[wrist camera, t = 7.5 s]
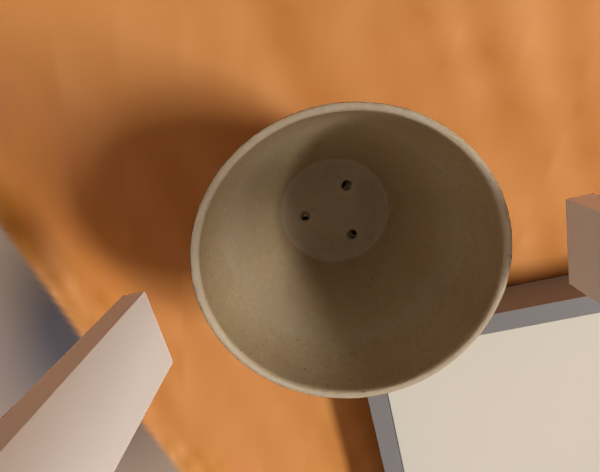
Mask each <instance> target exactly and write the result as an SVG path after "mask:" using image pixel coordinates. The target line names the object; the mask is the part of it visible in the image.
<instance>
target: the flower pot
mask: <svg viewBox="0 0 600 472" xmlns="http://www.w3.org/2000/svg"><path fill="white" fill-rule="evenodd" d="M344 181H345V182H346V185H345V186H344V187H343V188H342V184H343V182H344ZM305 216H306V217H308V218H309V219H307V220H303V219H302V218H303V217H305ZM351 230H355V231H356V234H352V233H351ZM511 259H512V229H511V223H510V218H509V212H508V209H507V206H506V203H505V199H504V196H503V193H502V191H501V189H500V187H499V185H498V183H497V181H496V179H495V177H494V175H493V174H492V172H491V171H490V169H489V168H488V166H487V165H486V164H485V162H484V161H483V160H482V159H481V157H480V156H479V155H478V154H477V153H476V152H475V151H474V150H473V149H472V148H471V146H470V145H469V144H467V143H466V142H465V141H464V140H463V139H462V138H461V137H459V136H458V135H457V134H455V133H454V132H453V131H451V130H450V129H449V128H447V127H445V126H444V125H442V124H440V123H439V122H437V121H435V120H433V119H431V118H429V117H427V116H425V115H422V114H420V113H417V112H415V111H412V110H409V109H406V108H402V107H398V106H393V105H388V104H382V103H373V102H340V103H332V104H326V105H321V106H317V107H312V108H309V109H306V110H302V111H299V112H296V113H294V114H291V115H289V116H287V117H284V118H282V119H280V120H278V121H276V122H274V123H272V124H271V125H269V126H267V127H265V128H264V129H262V130H260V131H259V132H258V133H256V134H255V135H254V136H253V137H251V138H250V139H249V140H248V141H246V142H245V143H244V144H243V145H242V146H240V147H239V148H238V149H237V150H236V151H235V152H234V153H233V154H232V155H231V156H230V157H229V158H228V160H227V161H226V162H225V163H224V164H223V165H222V167H221V168H220V169H219V171H218V172H217V174H216V175H215V177H214V178H213V179H212V181H211V183H210V185H209V186H208V188H207V190H206V192H205V194H204V196H203V198H202V200H201V203H200V205H199V208H198V211H197V214H196V218H195V222H194V226H193V231H192V236H191V245H190V266H191V275H192V280H193V286H194V290H195V293H196V297H197V300H198V303H199V305H200V308H201V310H202V312H203V314H204V316H205V318H206V320H207V322H208V323H209V325H210V327H211V328H212V330H213V331H214V333H215V335H216V336H217V337H218V339H219V340H220V341H221V342H222V344H223V345H224V346H225V347H226V348H227V349H228V350H229V351H230V352H231V353H232V354H233V355H234V356H235V357H236V358H237V359H238V360H239V361H241V362H242V363H243V364H245V365H246V366H247V367H249V368H250V369H251V370H253V371H254V372H256V373H257V374H259V375H260V376H262V377H264V378H266V379H268V380H270V381H272V382H274V383H276V384H278V385H280V386H283V387H286V388H288V389H291V390H294V391H298V392H301V393H305V394H309V395H314V396H320V397H328V398H363V397H369V396H376V395H381V394H386V393H390V392H394V391H397V390H400V389H403V388H406V387H408V386H412V385H414V384H416V383H418V382H421V381H423V380H425V379H426V378H428V377H430V376H432V375H433V374H435V373H437V372H439V371H440V370H441V369H443V368H444V367H446V366H447V365H449V364H450V363H451V362H452V361H454V360H455V359H456V358H457V357H459V356H460V355H461V354H462V353H463V352H464V351H465V350H466V349H467V348H468V347H469V346H470V345H471V344H472V343H473V342H474V341H475V340H476V339H477V337H478V336H479V335H480V334H481V332H482V331H483V330H484V328H485V327H486V325H487V324H488V322H489V321H490V319H491V318H492V316H493V314H494V312H495V311H496V309H497V307H498V305H499V303H500V300H501V298H502V296H503V293H504V291H505V288H506V285H507V281H508V276H509V272H510V266H511Z"/></svg>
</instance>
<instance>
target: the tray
mask: <svg viewBox="0 0 600 472" xmlns="http://www.w3.org/2000/svg"><path fill="white" fill-rule="evenodd" d="M367 398H368V402H369V406H370V410H371V415H372V419H373V423H374V428H375V432H376V436H377V441H378V445H379V449H380V453H381V458H382V462H383V466H384V471H385V472H600V304H598V303H597V302H595V301H594V300H592V299H591V298H589V297H588V296H587V295H585V294H584V293H582V292H581V291H579V290H578V289H576V288H575V287H573V286H572V285H571V284H569V275H564V276H559V277H554V278H549V279H544V280H539V281H534V282H529V283H524V284H519V285H514V286H509V287H506V288H505V291H504V293H503V296H502V298H501V300H500V303H499V305H498V307H497V309H496V311H495V312H494V314H493V316H492V318H491V319H490V321H489V322H488V324H487V325H486V327H485V328H484V330H483V331H482V332H481V334H480V335H479V336H478V337H477V339H476V340H475V341H474V342H473V343H472V344H471V345H470V346H469V347H468V348H467V349H466V350H465V351H464V352H463V353H462V354H461V355H460V356H459V357H457V358H456V359H455V360H454V361H452V362H451V363H450V364H449V365H447V366H446V367H444V368H443V369H441V370H440V371H439V372H437V373H435V374H433V375H432V376H430V377H428V378H426V379H425V380H423V381H421V382H418V383H416V384H414V385H412V386H408V387H406V388H403V389H400V390H397V391H394V392H390V393H386V394H381V395H376V396H369V397H367Z"/></svg>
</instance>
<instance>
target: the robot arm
mask: <svg viewBox="0 0 600 472" xmlns="http://www.w3.org/2000/svg"><path fill="white" fill-rule="evenodd" d="M566 220H567V245H568V269H569V284H571V285H572V286H573V287H575V288H576V289H578V290H579V291H581V292H582V293H584V294H585V295H587V296H588V297H589V298H591V299H592V300H594V301H595V302H597V303H598V304H600V195H597V194H594V193H592V194H587V195H582V196H578V197H573V198H569V199H566ZM172 363H173V361H172V358H171V355H170V353H169V350H168V348H167V345H166V343H165V340H164V338H163V335H162V333H161V330H160V328H159V325H158V323H157V320H156V318H155V315H154V313H153V310H152V308H151V305H150V303H149V300H148V298H147V295H146V293H145V291H143V292H138V293H134V294H129V295H125V296H122V297H121V298H120V299H119V300H118V301H117V302H116V303H115V304H114V305H113V306H112V307H111V308H110V309H109V310H108V311H107V312H106V313H105V314H104V315H103V316H102V317H101V318H100V319H99V320H98V321H97V322H96V323H95V324H94V326H93V327H92V328H91V329H90V330H89V331H88V332H87V333H86V334H85V335H84V336H83V337H82V338H81V339H80V340H79V341H78V342H77V343H76V344H75V345H74V346H73V347H72V348H71V349H70V350H69V351H68V352H67V353H66V354H65V355H64V356H63V357H62V358H61V359H60V360H59V361H58V362H57V363H56V364H55V365H54V366H53V367H52V368H51V369H50V370H49V371H48V372H47V373H46V374H45V375H44V376H43V377H42V378H41V379H40V380H39V381H38V382H37V383H36V384H35V385H34V386H33V387H32V388H31V389H30V390H29V391H28V392H27V393H26V394H25V395H24V396H23V397H22V398H21V399H20V401H18V402H17V403H16V405H14V406H13V407H12V408H11V409H10V410H9V411H8V412H7V413H6V414H5V415H4V416H3V417H2V418H1V419H0V472H114V471H115V469H116V467H117V465H118V463H119V461H120V460H121V458H122V456H123V454H124V452H125V450H126V448H127V447H128V445H129V443H130V441H131V439H132V437H133V435H134V434H135V432H136V430H137V428H138V426H139V424H140V422H141V421H142V419H143V417H144V415H145V413H146V411H147V409H148V408H149V406H150V404H151V402H152V400H153V398H154V396H155V395H156V393H157V391H158V389H159V387H160V385H161V383H162V382H163V380H164V378H165V376H166V374H167V372H168V370H169V369H170V367H171V365H172Z"/></svg>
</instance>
